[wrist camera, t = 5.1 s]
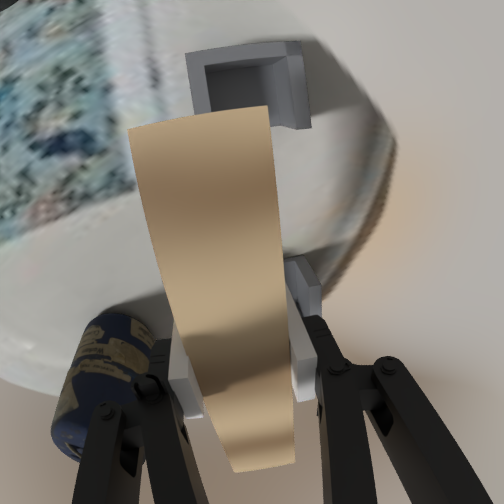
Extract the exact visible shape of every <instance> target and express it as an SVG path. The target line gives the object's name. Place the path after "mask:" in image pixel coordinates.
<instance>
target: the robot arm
mask: <svg viewBox="0 0 504 504" xmlns="http://www.w3.org/2000/svg"><path fill="white" fill-rule="evenodd" d="M16 1H17V0H0V11H2V10H4V9H6V8H7V7H9V6H10V5H12V4H13V3H15V2H16ZM285 289H286V302H287V316H288V331H289V346H290V363H291V380H292V385H293V389H294V392H295V395H296V399H297V402H302V401H307V400H311V399H314V398H315V393H316V395H317V398H318V408H317V416H318V417H319V429H320V443H321V459H322V477H323V499H324V504H377V496H376V489H375V481H374V474H373V467H372V461H371V455H370V449H369V443H368V437H367V432H366V426H365V421H364V415H363V410H365V411H366V413H367V415H368V417H369V419H370V421H371V423H372V425H373V427H374V429H375V431H376V433H377V435H378V437H379V439H380V441H381V442H382V444H383V447H384V449H385V450H386V452H387V454H388V456H389V458H390V460H391V462H392V464H393V466H394V468H395V470H396V472H397V474H398V476H399V478H400V480H401V482H402V484H403V486H404V488H405V491H406V492H407V494H408V497H409V498H410V501H411V503H412V504H493V502H492V500H491V499H490V497H489V495H488V494H487V492H486V490H485V488H484V487H483V485H482V483H481V481H480V480H479V478H478V477H477V475H476V473H475V472H474V470H473V468H472V466H471V465H470V463H469V462H468V460H467V458H466V457H465V455H464V454H463V452H462V450H461V449H460V447H459V446H458V444H457V442H456V441H455V439H454V438H453V436H452V435H451V433H450V432H449V430H448V429H447V427H446V426H445V424H444V423H443V421H442V419H441V418H440V416H439V415H438V413H437V412H436V410H435V409H434V408H433V406H432V404H431V403H430V402H429V400H428V399H427V397H426V396H425V394H424V393H423V391H422V390H421V388H420V387H419V385H418V384H417V383H416V381H415V380H414V378H413V377H412V376H411V374H410V373H409V371H408V370H407V368H406V367H405V366H404V364H403V363H402V362H401V361H400V360H399V359H397V358H395V357H391V356H385V357H381V358H379V359H377V360H376V362H375V363H374V365H356V364H352V363H351V362H350V361H349V360H348V359H346V358H344V357H343V355H342V353H341V351H340V349H339V347H338V345H337V343H336V341H335V339H334V338H333V335H332V334H331V331H330V330H329V328H328V326H327V324H326V322H325V320H324V319H322V318H321V317H320V316H319V315H312V316H307V317H301V316H300V314H299V312H298V309H297V307H296V305H295V302H294V300H293V298H292V295H291V293H290V291H289V288H288V286H287V284H286V281H285ZM131 390H132V391H133V393H134V395H135V396H136V398H137V399H136V400H135V401H132V402H130V403H127V404H124V405H121V406H120V405H119V404H118V403H117V402H115V401H111V400H109V401H104V402H102V403H99V404H98V405H97V406H96V407H95V409H94V411H93V413H92V417H91V421H90V424H89V428H88V432H87V436H86V440H85V444H84V448H83V452H82V456H81V460H80V465H79V470H78V474H77V479H76V484H75V489H74V494H73V500H72V504H139V493H140V483H141V482H140V481H141V473H142V463H143V454H144V450H145V456H146V461H147V468H148V473H149V478H150V484H151V489H152V493H153V498H154V503H155V504H209V502H208V499H207V496H206V493H205V490H204V487H203V484H202V481H201V477H200V474H199V471H198V468H197V464H196V461H195V458H194V454H193V451H192V447H191V444H190V440H189V436H188V432H187V429H186V426H185V424H184V422H183V419H184V418H183V415H185V417H186V419H192V418H202V417H204V412H203V396H202V394H201V391H200V388H199V385H198V382H197V380H196V377H195V374H194V371H193V368H192V365H191V362H190V359H189V356H187V355H186V352H185V349H184V347H183V344H182V341H181V338H180V335H179V332H178V329H177V326H176V323H175V320H174V322H173V332H172V338H171V339H162V340H156V342H155V343H154V345H153V346H152V348H151V354H150V360H149V366H148V372H145V373H142V374H140V375H138V376H137V377H136V378H134V380H133V381H132V383H131Z"/></svg>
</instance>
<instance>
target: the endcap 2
mask: <svg viewBox="0 0 504 504" xmlns="http://www.w3.org/2000/svg"><path fill="white" fill-rule="evenodd" d="M283 264H284V276H285V281H286V284H287V286H288V288H289V291H290V293H291V295H292V298H293V300H294V302H295V305H296V307H297V309H298V312H299V314H300V316H301V317H307V316H312V315H319V316H320V317H321V318H322V296H321V283H320V281H319V280H318V278H317V276H316V275H315V273H314V272H313V270H312V268H311V267H310V265H309V263H308V262H307V260H306V258H305V257H304V255H302V256H297V257H292V258H286V259H283Z"/></svg>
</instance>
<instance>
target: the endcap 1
mask: <svg viewBox="0 0 504 504" xmlns="http://www.w3.org/2000/svg"><path fill="white" fill-rule="evenodd" d="M185 57H186V64H187V70H188V77H189V83H190V89H191V95H192V101H193V107H194V113H195V115H199V114H205V113H211V112H217V111H224V110H232V109H239V108H248V107H256V106H266V105H267V106H268V114H269V123H270V127H273V126H285V127H288V128H292V129H296V130H298V129H308V128H312V126H311V117H310V108H309V100H308V92H307V84H306V76H305V69H304V62H303V55H302V48H301V42H300V41H284V42H267V43H255V44H245V45H236V46H228V47H221V48H214V49H207V50H201V51H196V52H190V53H185Z"/></svg>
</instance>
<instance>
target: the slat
mask: <svg viewBox="0 0 504 504" xmlns="http://www.w3.org/2000/svg"><path fill="white" fill-rule="evenodd" d="M127 130H128V136H129V142H130V147H131V153H132V158H133V163H134V168H135V173H136V177H137V182H138V187H139V191H140V196H141V200H142V205H143V209H144V213H145V217H146V221H147V225H148V229H149V233H150V237H151V241H152V245H153V249H154V252H155V256H156V260H157V263H158V267H159V270H160V274H161V277H162V281H163V284H164V288H165V291H166V294H167V298H168V301H169V304H170V307H171V310H172V314H173V317H174V320H175V323H176V326H177V329H178V332H179V335H180V338H181V341H182V344H183V347H184V349H185V352H186V355H187V356H189V359H190V362H191V365H192V368H193V371H194V374H195V377H196V380H197V382H198V385H199V388H200V391H201V394H202V396H203V401H204V403H205V406H206V408H207V410H208V413H209V415H210V418H211V420H212V423H213V425H214V427H215V430H216V432H217V435H218V437H219V439H220V441H221V444H222V446H223V448H224V451H225V453H226V455H227V457H228V459H229V462H230V463H231V466H232V468H233V470H234V472H235V473H237V472H244V471H252V470H258V469H264V468H270V467H275V466H281V465H285V464H290V463H295V449H294V448H295V447H294V424H293V400H292V380H291V363H290V346H289V331H288V316H287V302H286V289H285V276H284V264H283V252H282V240H281V229H280V218H279V207H278V197H277V187H276V177H275V168H274V158H273V149H272V140H271V131H270V123H269V114H268V106H267V105H266V106H256V107H248V108H239V109H232V110H224V111H217V112H211V113H205V114H199V115H193V116H187V117H182V118H177V119H172V120H167V121H162V122H157V123H153V124H148V125H144V126H140V127H135V128H131V129H127Z"/></svg>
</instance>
